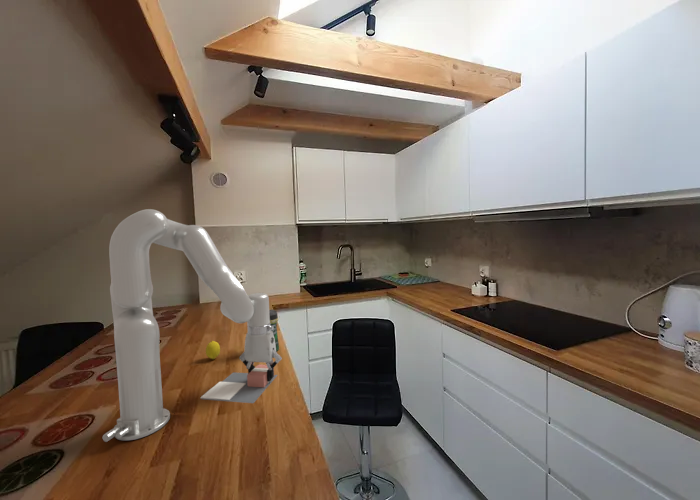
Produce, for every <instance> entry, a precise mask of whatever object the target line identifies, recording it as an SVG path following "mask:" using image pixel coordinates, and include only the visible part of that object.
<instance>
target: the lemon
mask: <svg viewBox="0 0 700 500" xmlns="http://www.w3.org/2000/svg"><path fill="white" fill-rule="evenodd" d="M220 353H221V346H220V344H219V342H217V341H215V340H211V341H210V342H208V343H207V345H206V347H205V355H206V357H207V358H208V359H211V360H215V359H216V358H218V357H219V355H220Z"/></svg>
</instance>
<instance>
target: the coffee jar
mask: <svg viewBox="0 0 700 500" xmlns="http://www.w3.org/2000/svg"><path fill="white" fill-rule="evenodd" d="M269 315H270V325H271V326H273V327H274V329H273V330H270V331H272V332H273V335H274V339H275V345H276V352H277V353H278V351H279V350H280V343H279V338H278V328H277V325H278V321H279V316H278V312H277V310H276V309H275V310H274V309H269Z"/></svg>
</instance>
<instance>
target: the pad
mask: <svg viewBox="0 0 700 500" xmlns="http://www.w3.org/2000/svg"><path fill="white" fill-rule="evenodd" d="M245 384H246V383H235V382H222V381H218V382H217V383H216V384H215V385H214V386H213V387H211V388H210V389H208V390H207V391H206V392H205V393H203V395H201V397H200V399H202V398H204V399H203V400H205V399H217V400H216V401H218V400H230V399H231V398H232V397H233V396H234V395H235V394H236V393H237V392H238V391H239V390H240V389H241V388H242V387H243V386H244V385H245Z"/></svg>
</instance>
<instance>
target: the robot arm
mask: <svg viewBox="0 0 700 500" xmlns="http://www.w3.org/2000/svg"><path fill="white" fill-rule="evenodd" d="M153 244H156V245H159V246H163V247H165V248H169V249H174V250H177V251H182V252H183V253H184V256H186V258H187V260H188V261H189V263H190V265H192V268H193V270H195V272H196V274H197V276H198V277H199V279H200V280H201V281H202V282H203V283H204V285H205V286H206V287H208V288H209V289H210V290H211V291H212V292H213V293H214V294H215V295H216V296H217V298H218V299H219V300H220V302H221V303H220V307H219V308H220V312H221V314H222V315H223V316H224V317H226V318H228V319H229V320H231V321H232V322H234V323H236V324H244V323H247V332H246V334H245V339H244V340H245V341H244V351H243V352H242V354H240V356H239V360H240V361H241V362H242V363H243V365H244V366H246V367H245V368H246V369H247V373H248V374H249V373H250V372H251V371H252V370H253V369H254V368H255V367H256V366H255V365H254V364H255V363H264V364H265V365H267V367H268V370H267V381H268V382H270V381H271V379H272V378H273V377H274V375H275V367H276V366H277V364H279V363H280V361H282V359H283V357H282V356H281V355H280V354H278V351H277V352H276V345H275V339H274V335H273V332H272V331H270V330H273V329H274V327H273V326H271V325H270V315H269V310H270V298H269V294H267V293H264V292H256V293H251V294H248V293H247V291H246V290H245V288H244V287H243V285H242V283H241V282H240V281H239V280H238V278H237V277H236V276H235V275H234V273H233V271H232V270H231V269H230V267H229V266H228V265H227V263H226V261H225V260H224V258H223V257H222V255H221V253H220V252H219V250H218V248H217V246H216V245H215V243H214V241H213V239H212V238H211V236H210V234H209V233H208V232H207V230H206V229H205V228H204V227H202V225H201V226H200V225H197V224H189V225H188V224H184V223H181V222H177V221H174V220H171V219H169V218H167V217H166V215H165V214H164V213H163V212H161V211H159V210H156V209H153V208H152V209H151V208H148V209H141V210H139V211H137V212H135V213H134V212H133V214H131V215H129V216H127V217H126V218H124V219H122V221H121V222H119V223H118V225H117V226H116V227H115V229H114V230H113V233H112V234H111V237H110V241H109V246H108V248H109V249H108V251H109V254H108V255H109V256H108V257H109V269H110V270H109V271H110V272H109V273H110V280H111V283H110V286H109V293H110V301H111V302H110V303H111V311H112V312H111V313H112V318H113V319H112V321H113V334H114V335H113V337H114V349H115V360H116V362H115V364H116V373H117V375H116V376H117V385H118V386H117V387H118V399H119V400H118V401H119V414H120V417H118V418H117V419H116V425H114V427H113V428H112V429H110V430H109V431H107V432H105V433H104V434H103V435H102V440H103V442H105V443H107V442H108V441H110V440H111V439H113V438H115V439H117V440H119V441H133V440H139V439H142V438H144V437H147V436H149V435H151V434H154V433H156V432H157V431H159V430H161V429H162V428H163V427H165V425H166V424H168V422H169V420H170V419H171V413H170V411H169V409H167V408H165V407H164V404H163V403H164V401H163V388H162V386H163V385H162V370H161V357H160V353H161V352H160V327H159V324H158V321H157V320H156V318H155V316H154V311H153V310H154V309H153V301H152V297H153V294H154V286H153V282H152V275H151V265H150V248H151V245H153ZM274 359H275V360H274Z"/></svg>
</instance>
